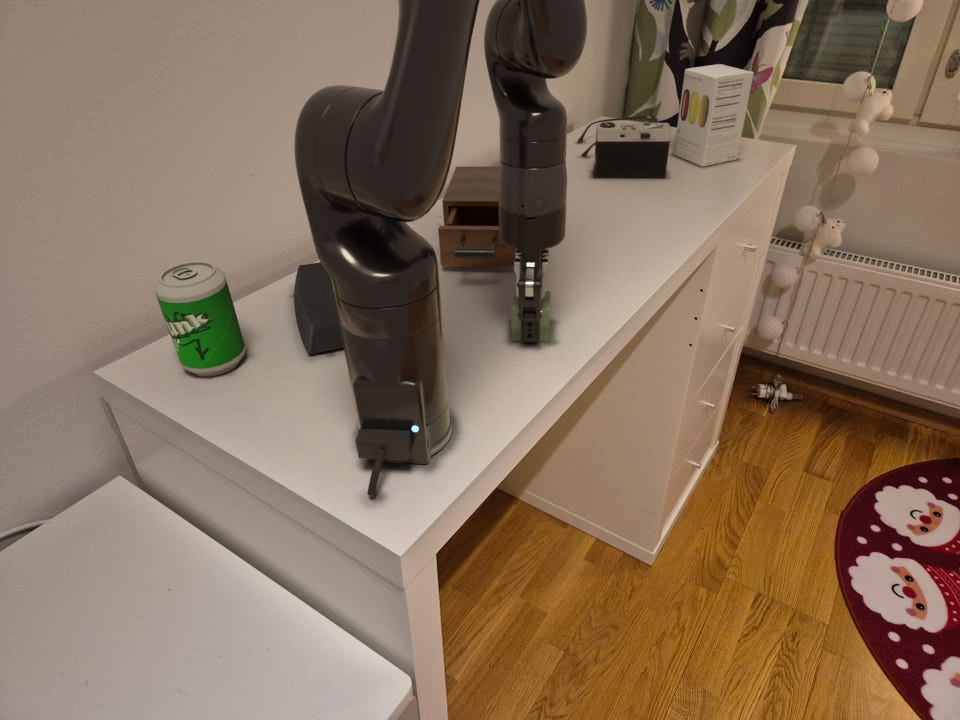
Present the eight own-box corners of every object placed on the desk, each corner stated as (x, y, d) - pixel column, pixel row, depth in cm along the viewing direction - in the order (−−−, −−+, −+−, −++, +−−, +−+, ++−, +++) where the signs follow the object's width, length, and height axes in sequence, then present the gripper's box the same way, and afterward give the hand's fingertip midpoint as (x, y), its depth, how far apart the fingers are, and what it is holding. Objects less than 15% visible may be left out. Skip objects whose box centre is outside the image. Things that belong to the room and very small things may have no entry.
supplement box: (671, 154, 137) (682, 68, 128) (706, 147, 140) (720, 62, 131) (702, 167, 130) (716, 76, 121) (738, 159, 133) (755, 70, 124)
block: (549, 342, 80) (550, 309, 78) (511, 341, 81) (511, 308, 78) (549, 322, 84) (550, 290, 81) (513, 321, 84) (513, 290, 82)
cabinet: (526, 249, 102) (527, 200, 98) (445, 248, 103) (442, 200, 99) (530, 210, 115) (531, 166, 111) (458, 209, 116) (456, 166, 112)
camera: (666, 165, 132) (672, 114, 126) (665, 182, 125) (671, 129, 119) (596, 162, 135) (599, 112, 129) (591, 179, 128) (594, 127, 122)
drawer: (517, 286, 90) (517, 247, 87) (434, 285, 91) (431, 246, 88) (524, 227, 107) (525, 191, 103) (454, 226, 108) (452, 191, 105)
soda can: (225, 338, 84) (199, 252, 77) (260, 358, 79) (236, 269, 73) (170, 365, 79) (137, 276, 72) (205, 388, 75) (173, 296, 68)
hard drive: (380, 272, 97) (377, 246, 95) (408, 338, 82) (405, 310, 80) (291, 287, 94) (285, 261, 92) (302, 359, 79) (296, 330, 77)
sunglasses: (576, 138, 149) (577, 115, 146) (651, 136, 148) (654, 113, 145) (582, 161, 136) (584, 137, 133) (665, 160, 135) (668, 135, 132)
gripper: (503, 176, 79) (505, 301, 88) (492, 224, 67) (496, 361, 77) (566, 176, 78) (561, 302, 88) (566, 225, 66) (561, 363, 76)
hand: (531, 329), depth 82 cm, fingers closed on block, 4 cm apart
